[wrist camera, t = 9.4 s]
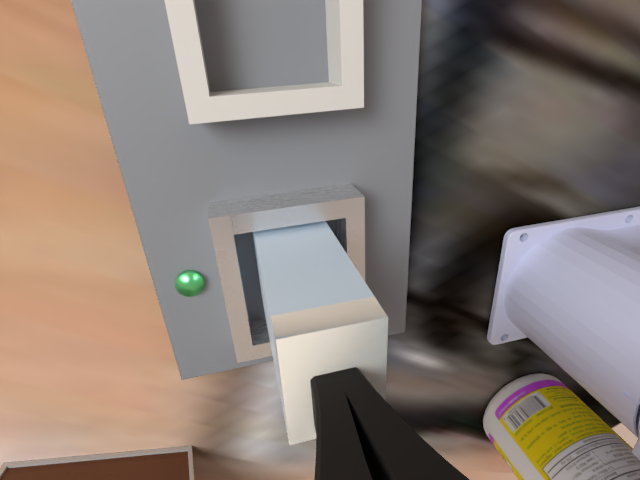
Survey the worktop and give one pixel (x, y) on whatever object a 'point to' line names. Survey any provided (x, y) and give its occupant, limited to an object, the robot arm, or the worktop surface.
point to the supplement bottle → (554, 434)
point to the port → (265, 215)
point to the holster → (278, 100)
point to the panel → (252, 145)
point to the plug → (316, 317)
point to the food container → (107, 466)
